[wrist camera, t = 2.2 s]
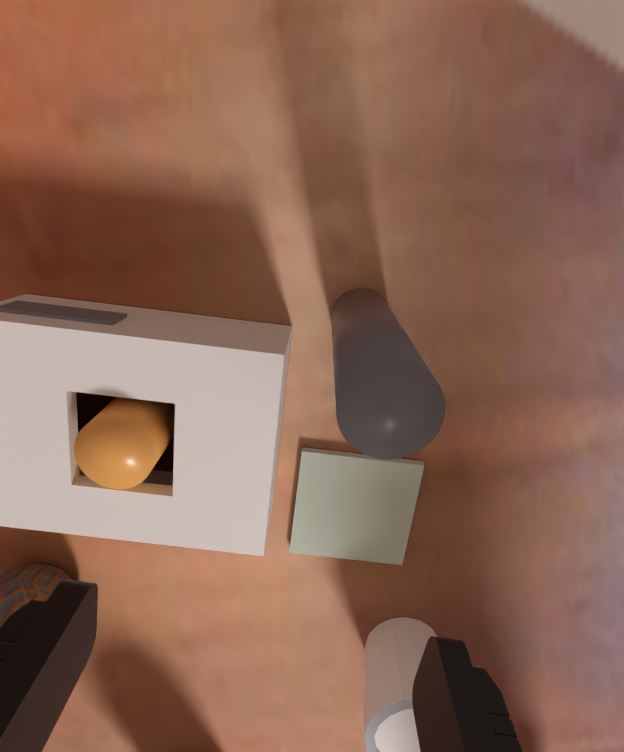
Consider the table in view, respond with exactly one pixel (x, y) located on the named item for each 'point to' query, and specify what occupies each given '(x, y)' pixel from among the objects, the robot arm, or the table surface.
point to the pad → (354, 506)
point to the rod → (381, 380)
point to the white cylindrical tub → (392, 684)
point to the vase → (27, 586)
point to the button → (124, 441)
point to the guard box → (153, 383)
